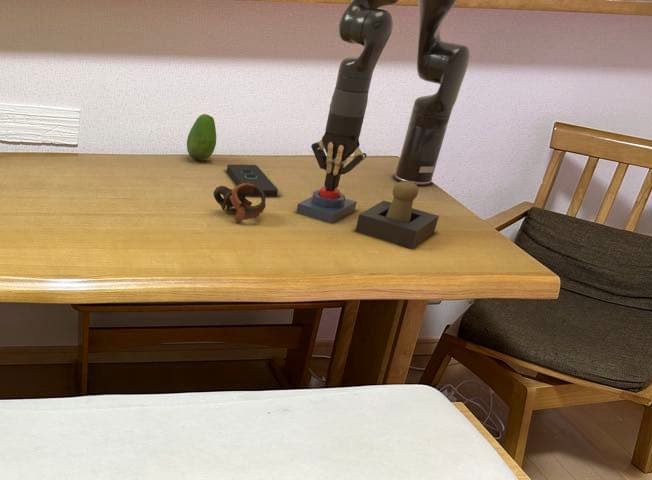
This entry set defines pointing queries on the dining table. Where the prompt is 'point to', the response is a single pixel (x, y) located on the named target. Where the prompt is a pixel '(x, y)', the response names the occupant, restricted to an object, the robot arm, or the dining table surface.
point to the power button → (329, 193)
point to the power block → (326, 207)
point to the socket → (396, 225)
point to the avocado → (202, 138)
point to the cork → (402, 201)
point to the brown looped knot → (240, 200)
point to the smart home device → (252, 179)
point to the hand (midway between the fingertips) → (330, 189)
